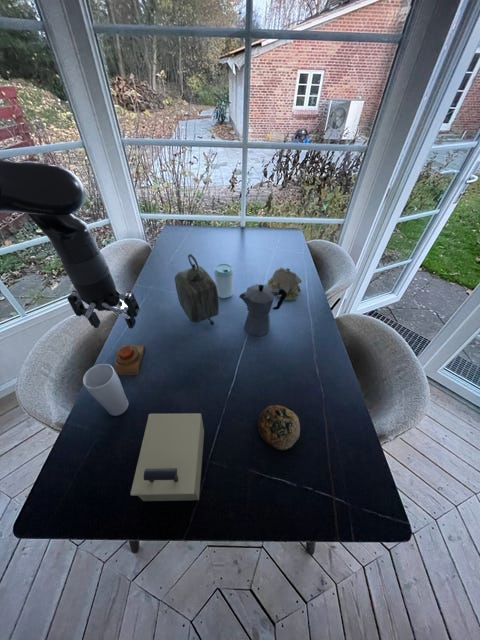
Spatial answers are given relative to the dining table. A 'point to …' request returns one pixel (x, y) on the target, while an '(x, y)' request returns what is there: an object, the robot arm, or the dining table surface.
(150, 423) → the lid
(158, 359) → the dining table surface
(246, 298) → the coffeepot
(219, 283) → the can
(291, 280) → the ceramic model
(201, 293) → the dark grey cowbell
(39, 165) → the robot arm
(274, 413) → the bread roll
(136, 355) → the block
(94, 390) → the drinking glass
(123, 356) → the button
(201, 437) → the beige open box
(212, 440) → the dining table surface
